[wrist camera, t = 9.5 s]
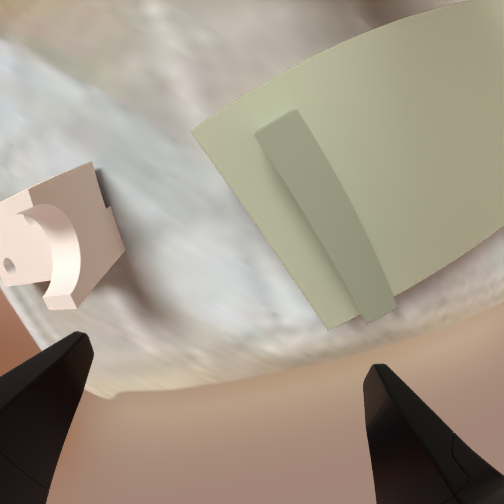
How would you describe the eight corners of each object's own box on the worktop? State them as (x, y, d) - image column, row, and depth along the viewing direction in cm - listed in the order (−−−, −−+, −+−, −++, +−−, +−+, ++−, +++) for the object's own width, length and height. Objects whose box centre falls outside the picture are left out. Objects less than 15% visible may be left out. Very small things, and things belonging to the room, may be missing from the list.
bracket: (98, 158, 18) (28, 189, 11) (127, 248, 21) (77, 308, 14) (0, 201, 19) (-55, 235, 13) (26, 267, 22) (-20, 311, 16)
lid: (195, 129, 12) (172, 136, 9) (530, -7, 5) (560, -11, 2) (325, 319, 16) (334, 362, 13) (581, 146, 9) (609, 158, 6)
